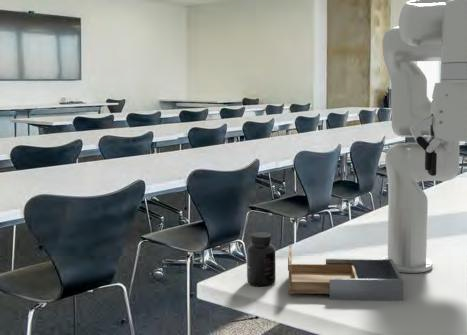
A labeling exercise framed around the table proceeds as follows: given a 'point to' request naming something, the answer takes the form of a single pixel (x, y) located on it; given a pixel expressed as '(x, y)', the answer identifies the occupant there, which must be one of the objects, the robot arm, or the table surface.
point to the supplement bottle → (261, 260)
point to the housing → (367, 281)
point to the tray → (315, 276)
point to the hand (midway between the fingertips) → (460, 174)
